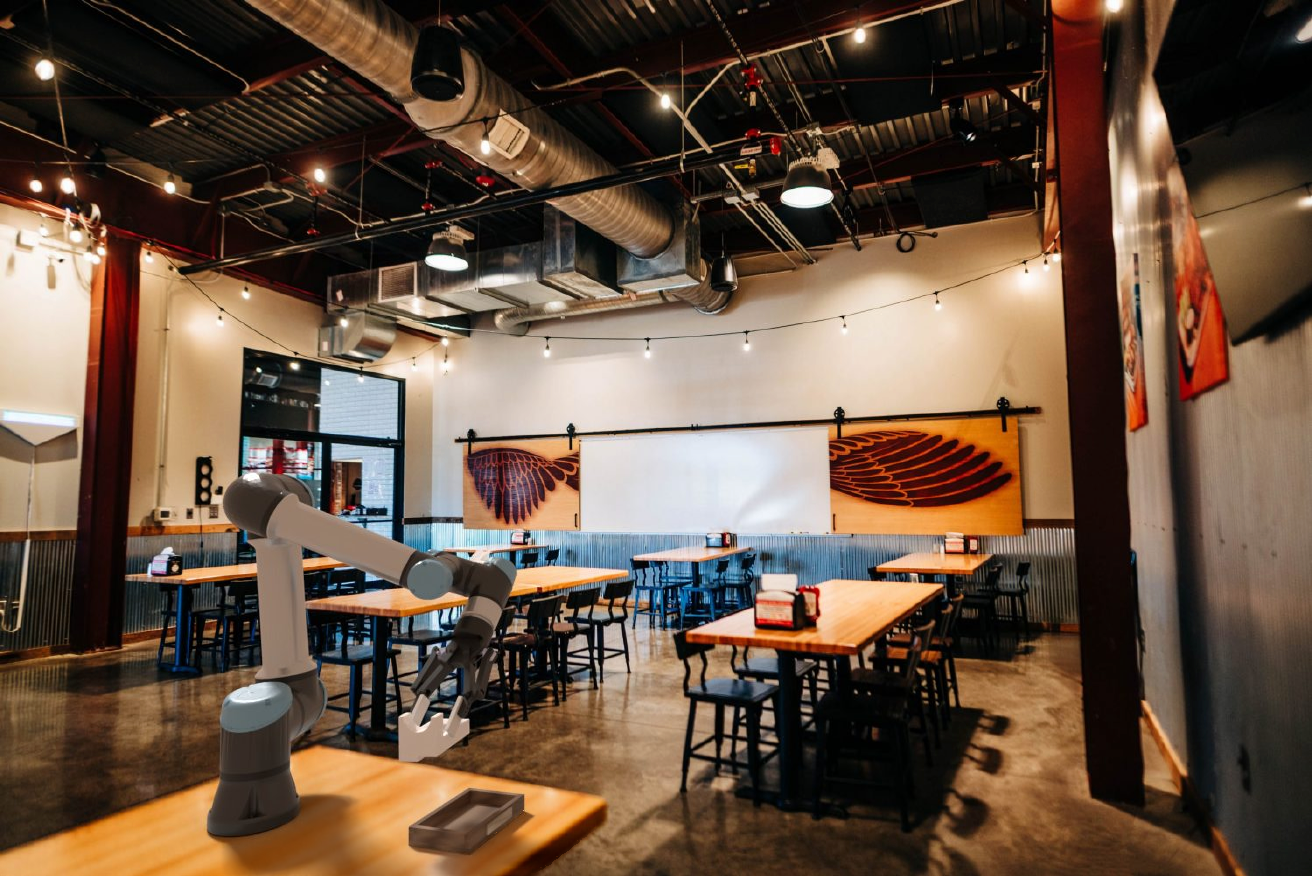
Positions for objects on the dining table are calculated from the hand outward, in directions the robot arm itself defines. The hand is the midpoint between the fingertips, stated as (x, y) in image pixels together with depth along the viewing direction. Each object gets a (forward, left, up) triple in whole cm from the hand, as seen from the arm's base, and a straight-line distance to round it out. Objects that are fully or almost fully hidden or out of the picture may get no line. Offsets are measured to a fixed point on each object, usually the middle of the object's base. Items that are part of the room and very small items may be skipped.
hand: (429, 732), depth 133 cm
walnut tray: (+7, +2, -17) cm, 18 cm away
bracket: (0, +2, -4) cm, 4 cm away
